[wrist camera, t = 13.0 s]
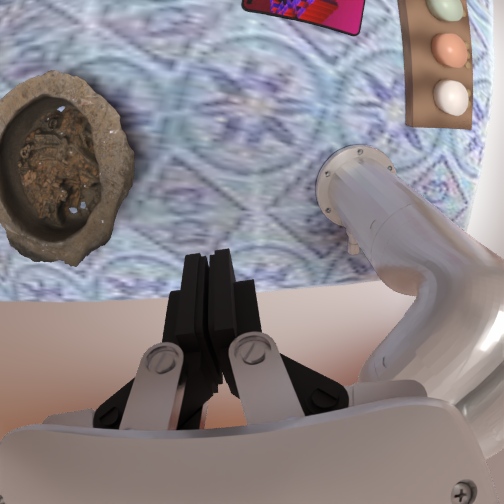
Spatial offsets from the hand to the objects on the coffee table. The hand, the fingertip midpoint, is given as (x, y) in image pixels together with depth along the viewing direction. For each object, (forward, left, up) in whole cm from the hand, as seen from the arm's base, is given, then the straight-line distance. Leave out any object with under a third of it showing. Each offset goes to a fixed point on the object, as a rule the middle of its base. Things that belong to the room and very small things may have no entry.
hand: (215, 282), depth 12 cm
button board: (+11, -32, -29) cm, 44 cm away
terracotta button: (+11, -32, -27) cm, 43 cm away
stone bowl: (+2, +22, -30) cm, 37 cm away
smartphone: (+17, -13, -30) cm, 37 cm away
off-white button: (+4, -32, -27) cm, 42 cm away
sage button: (+18, -32, -27) cm, 45 cm away
